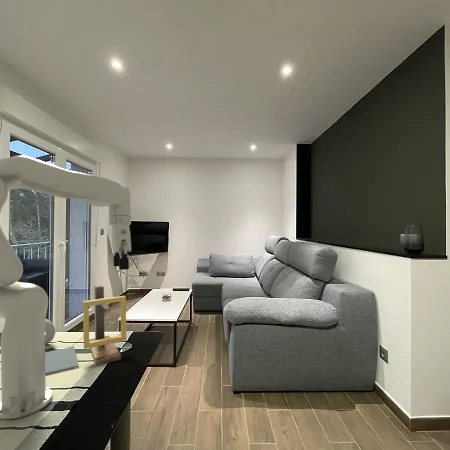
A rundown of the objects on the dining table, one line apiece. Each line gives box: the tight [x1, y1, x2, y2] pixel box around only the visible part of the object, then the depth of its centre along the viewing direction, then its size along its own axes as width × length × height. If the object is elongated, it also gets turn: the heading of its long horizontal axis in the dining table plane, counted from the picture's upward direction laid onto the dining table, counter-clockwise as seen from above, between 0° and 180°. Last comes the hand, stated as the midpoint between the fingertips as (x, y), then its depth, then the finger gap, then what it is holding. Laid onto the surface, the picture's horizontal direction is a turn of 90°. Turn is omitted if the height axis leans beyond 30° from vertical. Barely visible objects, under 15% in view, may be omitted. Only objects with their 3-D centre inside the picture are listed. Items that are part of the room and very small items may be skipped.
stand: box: [89, 285, 122, 366], centre depth 109 cm, size 22×8×22 cm, turn 31°
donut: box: [45, 318, 56, 345], centre depth 117 cm, size 10×4×10 cm, turn 76°
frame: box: [82, 295, 127, 350], centre depth 105 cm, size 2×14×16 cm, turn 122°
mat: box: [45, 346, 79, 376], centre depth 102 cm, size 18×12×1 cm, turn 31°
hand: (121, 267), depth 108 cm, fingers open, 9 cm apart
